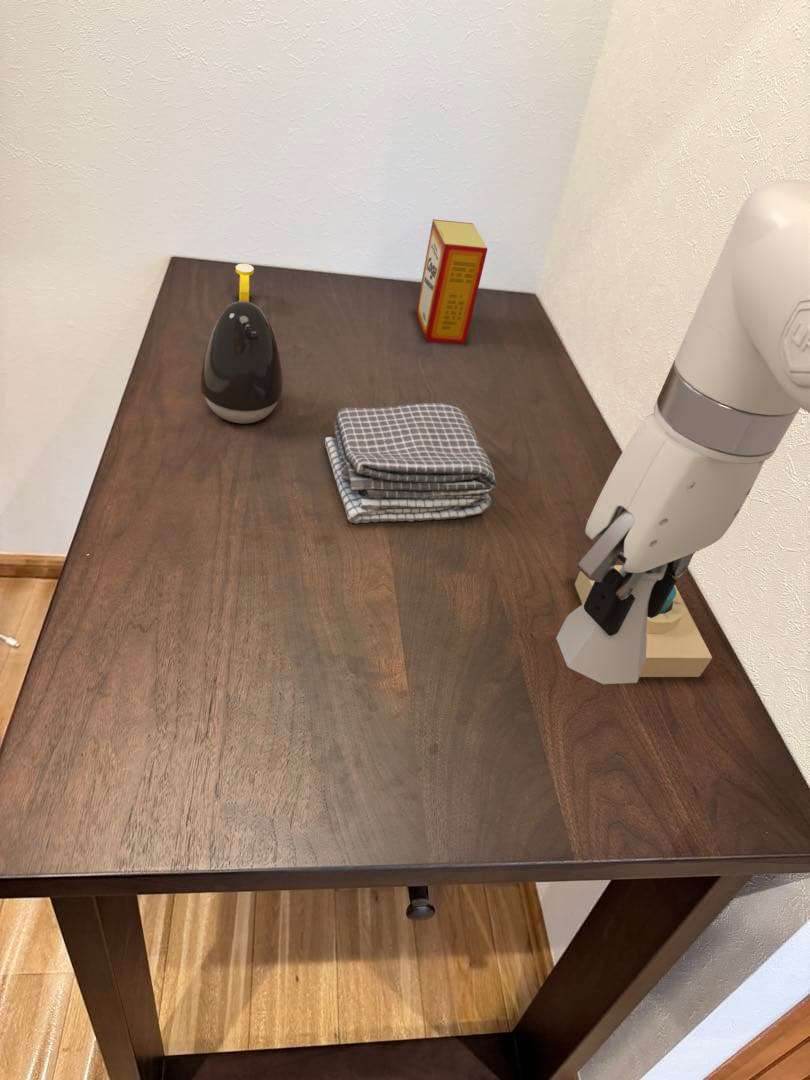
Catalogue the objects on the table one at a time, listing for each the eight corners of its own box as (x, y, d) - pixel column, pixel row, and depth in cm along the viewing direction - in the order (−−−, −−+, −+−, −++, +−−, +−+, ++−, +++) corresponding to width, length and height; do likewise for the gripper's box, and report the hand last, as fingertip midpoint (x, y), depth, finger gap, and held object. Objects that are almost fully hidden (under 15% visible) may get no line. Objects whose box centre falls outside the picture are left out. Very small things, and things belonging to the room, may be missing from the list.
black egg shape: (212, 440, 97) (212, 328, 87) (192, 394, 104) (190, 285, 93) (291, 430, 101) (299, 323, 91) (267, 387, 108) (273, 282, 98)
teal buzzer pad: (699, 677, 81) (720, 646, 78) (610, 677, 79) (627, 645, 76) (655, 586, 90) (672, 555, 87) (574, 584, 88) (588, 552, 85)
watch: (234, 293, 126) (235, 257, 122) (252, 295, 127) (253, 259, 123) (234, 311, 122) (235, 274, 118) (253, 312, 122) (254, 276, 118)
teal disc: (674, 614, 81) (682, 601, 79) (638, 614, 80) (646, 600, 79) (660, 586, 84) (668, 572, 82) (625, 585, 83) (632, 571, 81)
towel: (491, 520, 94) (507, 469, 89) (341, 525, 89) (349, 471, 84) (457, 445, 105) (469, 395, 100) (321, 445, 100) (327, 393, 95)
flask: (554, 676, 59) (597, 584, 53) (555, 608, 65) (594, 516, 58) (648, 697, 59) (702, 607, 53) (641, 627, 65) (689, 538, 58)
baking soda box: (415, 312, 132) (433, 216, 121) (453, 315, 133) (473, 221, 122) (426, 341, 125) (445, 242, 114) (465, 343, 126) (488, 246, 116)
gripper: (760, 356, 53) (659, 552, 65) (582, 397, 45) (504, 611, 57) (854, 416, 49) (727, 614, 61) (676, 473, 41) (570, 687, 53)
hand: (620, 611), depth 59 cm, fingers closed on flask, 3 cm apart
